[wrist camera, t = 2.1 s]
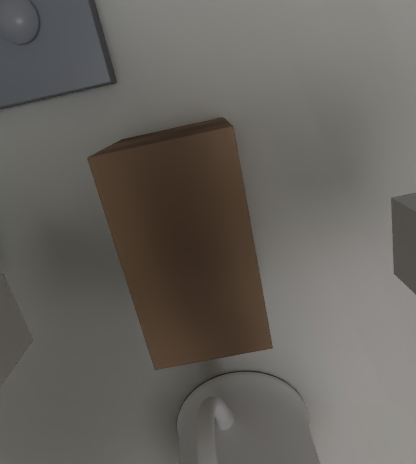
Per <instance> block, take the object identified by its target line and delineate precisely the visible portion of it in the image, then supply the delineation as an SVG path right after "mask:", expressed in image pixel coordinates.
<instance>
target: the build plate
mask: <svg viewBox="0 0 416 464" xmlns="http://www.w3.org/2000/svg"><path fill="white" fill-rule="evenodd" d="M113 83H117V82H116V79H115V75H114V71H113V68H112V64H111V60H110V57H109V53H108V49H107V46H106V42H105V38H104V35H103V31H102V27H101V24H100V20H99V17H98V13H97V9H96V6H95V2H94V0H0V109H3V108H8V107H12V106H16V105H21V104H25V103H30V102H34V101H38V100H43V99H47V98H52V97H56V96H60V95H65V94H69V93H73V92H78V91H82V90H87V89H91V88H95V87H100V86H104V85H109V84H113Z"/></svg>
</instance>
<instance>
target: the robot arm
mask: <svg viewBox="0 0 416 464" xmlns="http://www.w3.org/2000/svg"><path fill="white" fill-rule="evenodd" d="M391 205H392V233H393V261H394V274H395V275H396V276H397V277H398V278H399V279H400V280H401V281H402V282H403V283H404V284H405V285H406V286H407V287H409V288H410V289H411V290H412V291H413V292H414V293H415V294H416V193H412V194H407V195H402V196H397V197H392V198H391ZM32 341H33V338H32V336H31V334H30V332H29V329H28V327H27V325H26V323H25V321H24V318H23V316H22V314H21V312H20V309H19V307H18V305H17V303H16V301H15V298H14V296H13V294H12V292H11V290H10V287H9V285H8V283H7V281H6V278H5V276H4V274H2V275H0V386H1V385H2V383H3V382H4V381H5V379H6V378H7V376H8V375H9V373H10V372H11V371H12V369H13V368H14V366H15V365H16V364H17V362H18V361H19V359H20V358H21V356H22V355H23V354H24V352H25V351H26V349H27V348H28V346H29V345H30V344H31V342H32Z"/></svg>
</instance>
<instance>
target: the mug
mask: <svg viewBox="0 0 416 464" xmlns="http://www.w3.org/2000/svg"><path fill="white" fill-rule="evenodd" d="M177 433H178V438H179V464H320V461H319V458H318V455H317V452H316V449H315V445H314V442H313V439H312V436H311V433H310V429H309V419H308V413H307V409H306V406H305V404H304V402H303V400H302V398H301V397H300V395H299V394H298V393H297V392H296V391H295V390H294V389H293V388H292V387H291V386H290V385H288V384H287V383H285V382H284V381H282V380H280V379H278V378H276V377H273V376H270V375H267V374H263V373H257V372H235V373H229V374H225V375H221V376H218V377H215V378H213V379H211V380H209V381H207V382H205V383H203V384H202V385H200V386H199V387H198V388H196V389H195V390H194V391H193V392H192V393H191V394H190V395H189V396H188V397H187V399H186V400H185V402H184V403H183V405H182V407H181V409H180V412H179V415H178V420H177Z"/></svg>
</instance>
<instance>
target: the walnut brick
mask: <svg viewBox="0 0 416 464" xmlns="http://www.w3.org/2000/svg"><path fill="white" fill-rule="evenodd" d="M87 159H88V162H89V165H90V168H91V172H92V175H93V178H94V181H95V184H96V187H97V190H98V193H99V197H100V200H101V203H102V206H103V209H104V212H105V215H106V219H107V222H108V225H109V228H110V231H111V234H112V237H113V240H114V244H115V247H116V250H117V253H118V256H119V259H120V262H121V265H122V269H123V272H124V275H125V278H126V281H127V284H128V287H129V291H130V294H131V297H132V300H133V303H134V306H135V309H136V312H137V316H138V319H139V322H140V325H141V328H142V331H143V334H144V338H145V341H146V344H147V347H148V350H149V353H150V356H151V359H152V363H153V366H154V369H155V370H158V369H163V368H168V367H174V366H179V365H185V364H190V363H195V362H201V361H206V360H212V359H217V358H222V357H228V356H233V355H239V354H244V353H249V352H255V351H260V350H266V349H271V348H273V346H272V341H271V335H270V330H269V324H268V318H267V313H266V307H265V302H264V296H263V290H262V285H261V279H260V274H259V268H258V262H257V257H256V251H255V245H254V240H253V234H252V229H251V223H250V217H249V212H248V206H247V201H246V195H245V189H244V184H243V178H242V173H241V167H240V161H239V156H238V150H237V145H236V139H235V133H234V128H233V126H232V125H231V124H230V123H229V122H228V121H226V120H225V119H224V118H223V117H222V118H218V119H213V120H209V121H204V122H199V123H195V124H190V125H186V126H181V127H177V128H172V129H167V130H163V131H158V132H154V133H149V134H145V135H140V136H135V137H131V138H126V139H122V140H120V141H118V142H116V143H114V144H112V145H111V146H109V147H107V148H105V149H103V150H101V151H99V152H97V153H96V154H94V155H92V156H90V157H88V158H87Z"/></svg>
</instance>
